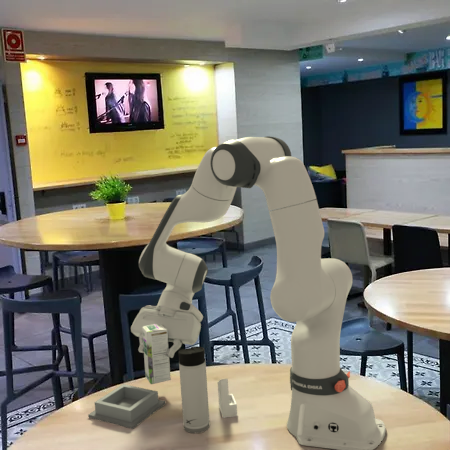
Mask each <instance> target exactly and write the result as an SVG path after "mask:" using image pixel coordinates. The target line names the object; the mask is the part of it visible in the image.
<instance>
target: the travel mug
mask: <svg viewBox="0 0 450 450" xmlns="http://www.w3.org/2000/svg"><path fill="white" fill-rule="evenodd" d="M206 364H207V363H206V351H205V348H204V347H201V346H192V347H188V348H180V349H179V350H178V365H179V367H178V368H179V379H180V380H179V383H180V397H181V407H182V409H181V410H182V423H183V425H182V426H183V430H184V431H186V432H187V433H190V434H200V433H204V432H206V431H208V429H209V428H210V425H211V424H210V411H209V410H210V409H209V398H208V397H209V396H208V395H209V393H208V378H207V365H206Z"/></svg>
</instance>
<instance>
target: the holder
mask: <svg viewBox="0 0 450 450" xmlns="http://www.w3.org/2000/svg"><path fill="white" fill-rule="evenodd" d="M166 402H167V401H166V400H164V399H159V392H158V391H157V390H152V389H148V388H143V387H139V386H134V385H129V384H125V383H122V384H121V385H119V386H117V387H116V388H114V389H113V390H112V391H110V392H108V393H106V394H105V395H104V396H102V397H100V398H99V399H97V400H96V401H94V410H93V411H91V412H90V413H88V414H87V416H88V417H89V419H93V420H96V421H100V422H104V423H108V424H113V425H116V426H119V427H123V428H127V429H131V430H133V429H135V428H136V427H137V426H138V425H140V424H141V423H143V422H144V421H145V420H147V418H149V417H151V416H152V415H153V414H154V413H155V412H157V411H158V410H160V409H161V408H162V407H164V406H165V405H167V403H166ZM88 417H87V418H88Z"/></svg>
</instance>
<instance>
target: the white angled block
mask: <svg viewBox="0 0 450 450" xmlns="http://www.w3.org/2000/svg"><path fill="white" fill-rule="evenodd" d="M217 391H218V395H217V396H218V407H219V411H220V414H221V417H222V418H223V419H224V418H225V419H226V418H231V417H238V405H237V401H236V399H235V397H234V394H233V393H229V378H221V379H219V380H218V382H217Z"/></svg>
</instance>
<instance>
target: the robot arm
mask: <svg viewBox="0 0 450 450" xmlns="http://www.w3.org/2000/svg"><path fill="white" fill-rule="evenodd" d="M254 186H255V187H258V188H259V189H260V190H262V192H263V193H264V197H265V201H266V204H267V209H268V213H269V218H270V222H271V225H272V226H271V227H272V231H273V234H274V238H275V244H276V274H275V280H274V283H273V286H272V288H271V290H270V298H269V299H270V303H271V304H270V305H271V307H272V309H273V311H274V312H275V313H276V315H277V316H278V317H280V319H282V320H283V321H286V322H289V323H295V327H294V328H293V330H292V333H291V337H290V353H291V354H290V355H291V366H290V370H289V372H290V373H289V384H290V391H291V399H290V410H289V415H288V419H287V422H286V427H287V430H288V431H289V433H291V434H292V436H294V437H295V438H296V440H297V442H298V444H299V445H301V446H307V447H313V448H315V447H316V448H323V449H332V450H375V449H376V448H377V447H379V446H380V444H381V443H382V442H383V440H384V439H385V436H386V432H387V431H386V424H385V423H384V421H383V420H381V419H380V418H376V415H375V409H374V407H373V405H372V403H371V402H370V401H369V400H368V399H367V398H366V397H364V396H363V395H362V394H361V393H359V392H358V391H357V390H355V388H353V387H352V386H351V385H350V384H349V381H350V380H349V378H350V377H351V371H347V373H345V371H343V369H342V367H341V353H340V352H341V350H340V349H341V346H340V345H341V343H340V341H341V340H340V339H341V329H342V325H343V320H344V319H343V318H344V316H345V315H344V313H345V309H346V303H347V300H348V299H347V298H348V295H349V293H350V291H351V288H352V285H353V283H354V282H353V274H352V273H353V272H352V271H351V269H350V267H349V266H348V265H347V264H346V263H345V261H343V260H341V259H338V258H336V257H335V258H334V257H333V258H330V257H329V258H322V244H323V240H324V238H325V228H324V224H323V220H322V216H321V212H320V207H319V204H318V199H317V195H316V192H315V189H314V186H313V184H312V180H311V177H310V176H309V172H308V171H307V168H306V166H305V165H304V162H303V161H302V160H301V159H299V158H297V157H295V156H292V152H291V148H290V147H289V145H288V144H287V143H286V142H285V141H284V140H283V139H281V138H279V137H275V136H270V135H269V136H262V137H261V136H247V137H242V138H238V139H229V140H227V141H224V142H222V143H220V144H219V145H217V146H213V147H211V148H209V149H208V150H207V151H206V152H205V153H204V155H203V157H202V159H201V160H200V162H199V165H198V167H197V169H196V171H195V174H194V176H193V178H192V182H191V185H190V187H189V188H188V190H187V191H186V192H184V193H183V194H178V195H176V196H175V197H174V198H173V199H172V201H170V202H171V203H170V204H169V206H168V208H167V210H166V211H165V213H164V214H163V215H162V218H161V220H160V222H159V224H158V225H157V227H156V229H155V231H154V234H153V236H152V237H151V239H150V241H149V243H148V244H147V245H145V247H144V249H143V250H142V252H141V254H140V256H139V259H138V268H139V270H140V272H141V274H142V275H143V277H145V278H148V279H152V280H157V281H159V282H163V283H166V287H165V288H164V289H163V290H162V292H161V295H160V297H159V299H158V303H157V305H145V306H143V307H141V308H140V310H139V312H138V313H137V315H136V316H135V318H134V320H133V322H132V325H131V326H130V332H131V333H132V334H133V335H134V336H135V337H138V340H139V347H138V349H137V350H138V352H139V353H142V354H144V348H143V332H142V327H144V326H147V325H152V324H162V325H163V326H164V327H165V328H166V329H167V334H168V343H169V342H171V343H173V345H172V346H171V347H170V348H169V349H167V352H166V354H165V355H166V356H167V357H169V359H170V358H171V359H173V358H174V356H175V353H176V352H177V351H179V350H180V349H181V347H182V345H183V344H184V345H191V346H192V345H194V344H195V343H196V342H197V341H198V340H199V339H198V338H199V336H200V332H201V328H202V327H201V326H202V324H201V322H202V321H203V318H204V316H203V314H202V313H201V311H200V310H199V309H198V308H197V307H196V306H195V305H194V304H193V297H194V295H195V293H198V292H200V291H201V290H202V289H203V285H204V282H205V279H206V278H207V275H208V273H209V269H208V266H207V264H206V262H205V260H204V259H203V258H201V257H200V256H198V255H196V254H194V253H189V252H185V251H183V250H180V249H177V248H175V247H173V246H170V245H169V244H167V241H168V240H169V238H170V236H171V235H172V232H173V230H174V228H175V227H176V226H177V225H180V224H184V223H201V224H202V223H203V224H204V223H211V222H214V221H217V220H219V219H221V218H222V217H224V216H225V215H226V214H227V212H228V210H229V208H230V207H231V204H232V202H233V200H234V196H235V194H236V191H237V188H241V189H242V188H243V189H251V188H253V187H254ZM381 441H382V442H381ZM378 445H379V446H378Z"/></svg>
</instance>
